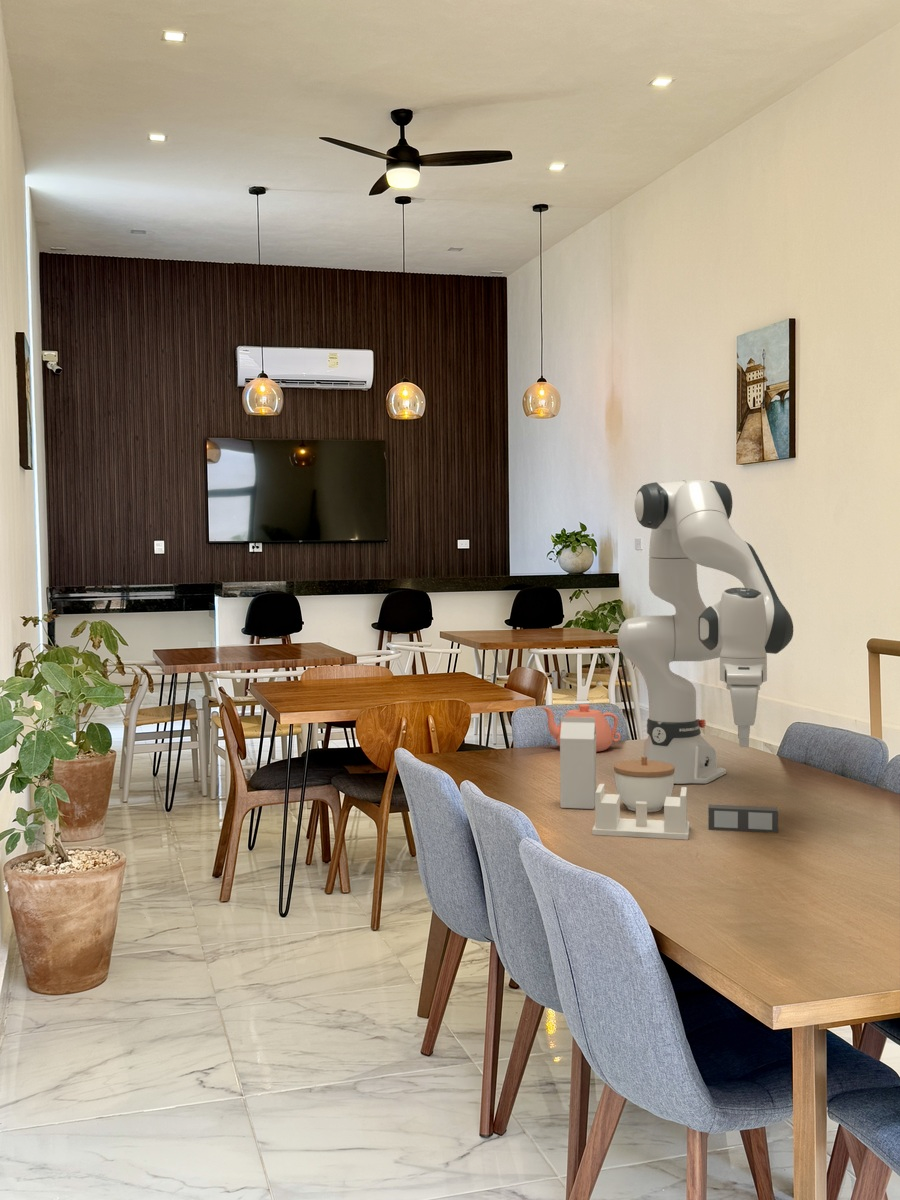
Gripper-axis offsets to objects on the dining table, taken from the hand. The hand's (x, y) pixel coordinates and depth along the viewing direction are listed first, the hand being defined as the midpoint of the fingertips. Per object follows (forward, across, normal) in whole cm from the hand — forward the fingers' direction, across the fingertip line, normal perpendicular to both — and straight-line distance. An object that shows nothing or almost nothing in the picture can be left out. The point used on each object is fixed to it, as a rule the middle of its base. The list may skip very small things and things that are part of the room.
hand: (743, 743), depth 210 cm
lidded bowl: (+17, -15, -20) cm, 30 cm away
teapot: (+15, -81, -42) cm, 92 cm away
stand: (+17, +4, -19) cm, 26 cm away
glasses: (+17, -1, 0) cm, 17 cm away
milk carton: (+17, -14, -34) cm, 40 cm away
